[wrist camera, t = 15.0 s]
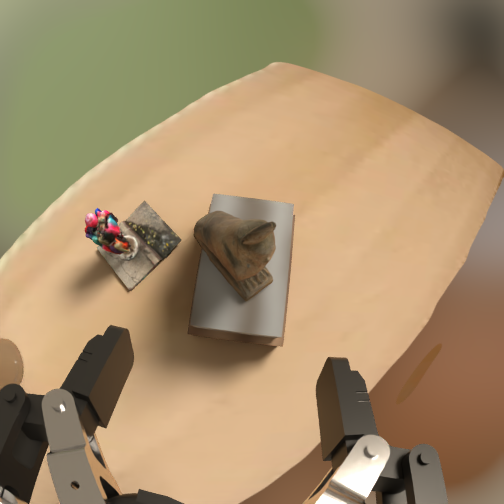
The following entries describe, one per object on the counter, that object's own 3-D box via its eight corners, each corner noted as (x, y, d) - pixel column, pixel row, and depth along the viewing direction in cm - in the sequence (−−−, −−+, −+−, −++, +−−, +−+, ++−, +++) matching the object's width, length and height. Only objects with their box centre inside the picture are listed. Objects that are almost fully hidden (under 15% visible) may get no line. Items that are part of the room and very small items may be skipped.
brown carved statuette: (271, 283, 35) (330, 274, 19) (235, 305, 33) (268, 317, 18) (224, 207, 35) (244, 140, 19) (188, 227, 34) (180, 171, 18)
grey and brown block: (193, 335, 40) (179, 332, 30) (212, 218, 45) (206, 186, 36) (277, 346, 40) (289, 346, 30) (289, 228, 45) (302, 198, 36)
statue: (134, 291, 42) (82, 279, 28) (102, 250, 44) (48, 224, 29) (183, 241, 44) (148, 207, 29) (147, 203, 45) (106, 160, 31)
